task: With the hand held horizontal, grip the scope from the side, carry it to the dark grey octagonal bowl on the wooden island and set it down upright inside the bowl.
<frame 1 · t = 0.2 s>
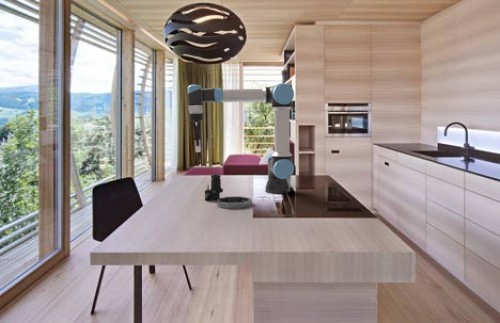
hand: (198, 151, 223), 27 cm above the table, tool pointing down, fingers open, 13 cm apart
scope: (214, 200, 223), on the table
dark grey octagonal bowl: (234, 204, 210), on the table
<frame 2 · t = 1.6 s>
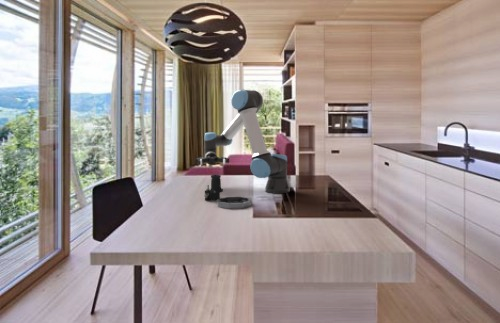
hand: (213, 162, 229), 20 cm above the table, tool horizontal, fingers open, 13 cm apart
nothing on the table moved.
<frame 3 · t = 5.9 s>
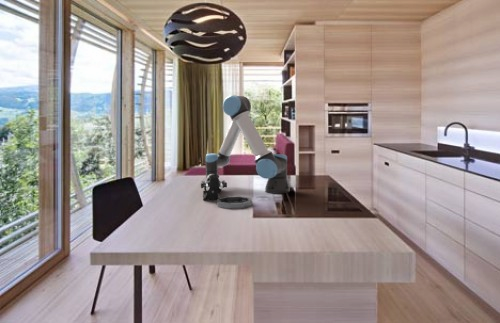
hand: (214, 188, 217), 8 cm above the table, tool horizontal, fingers closed on scope, 7 cm apart
scope: (212, 200, 222), on the table, touching gripper
when the fingers open (9 cm above the table, at t = 11.0 s): scope drops 1 cm, resting on dark grey octagonal bowl.
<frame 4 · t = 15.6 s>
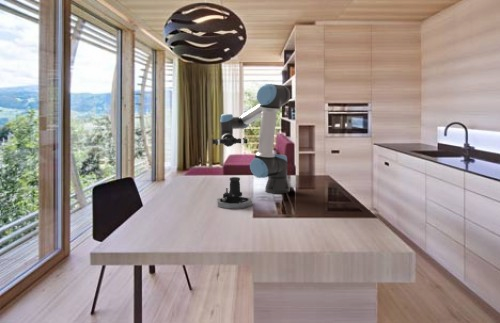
hand: (231, 142, 221), 32 cm above the table, tool horizontal, fingers open, 13 cm apart
scope: (233, 204, 210), resting on dark grey octagonal bowl
at the end: scope 0.7 cm from the dark grey octagonal bowl (horizontally); scope resting on dark grey octagonal bowl; scope tilted 0° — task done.
